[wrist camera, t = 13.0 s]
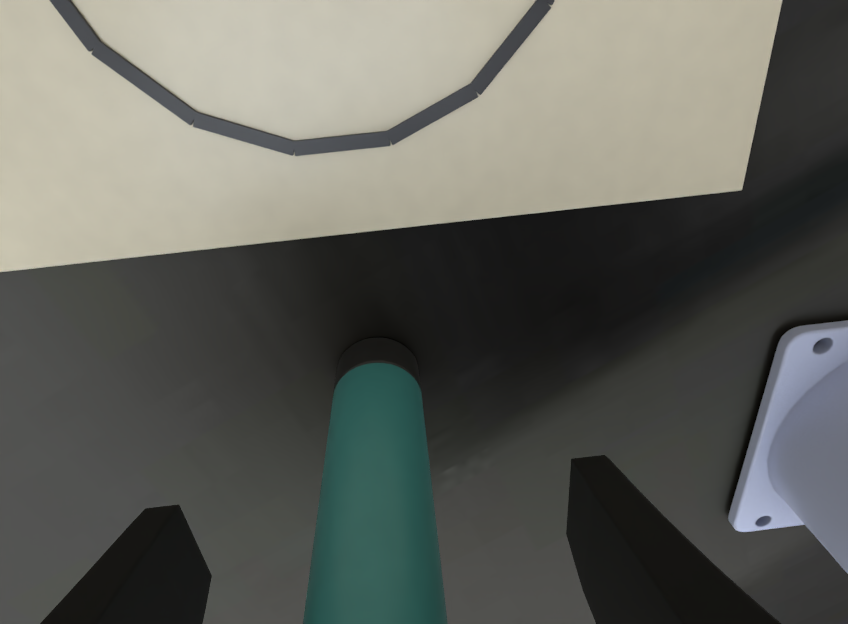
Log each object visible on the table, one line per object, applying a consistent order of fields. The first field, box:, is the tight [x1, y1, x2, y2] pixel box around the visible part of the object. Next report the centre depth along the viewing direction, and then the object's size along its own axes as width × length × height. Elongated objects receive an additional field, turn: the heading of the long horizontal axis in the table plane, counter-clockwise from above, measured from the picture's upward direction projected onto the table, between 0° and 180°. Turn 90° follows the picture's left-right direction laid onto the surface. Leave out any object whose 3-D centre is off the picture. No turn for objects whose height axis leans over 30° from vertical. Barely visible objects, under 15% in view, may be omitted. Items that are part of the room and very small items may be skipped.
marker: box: [303, 337, 447, 624], centre depth 9 cm, size 2×2×10 cm
